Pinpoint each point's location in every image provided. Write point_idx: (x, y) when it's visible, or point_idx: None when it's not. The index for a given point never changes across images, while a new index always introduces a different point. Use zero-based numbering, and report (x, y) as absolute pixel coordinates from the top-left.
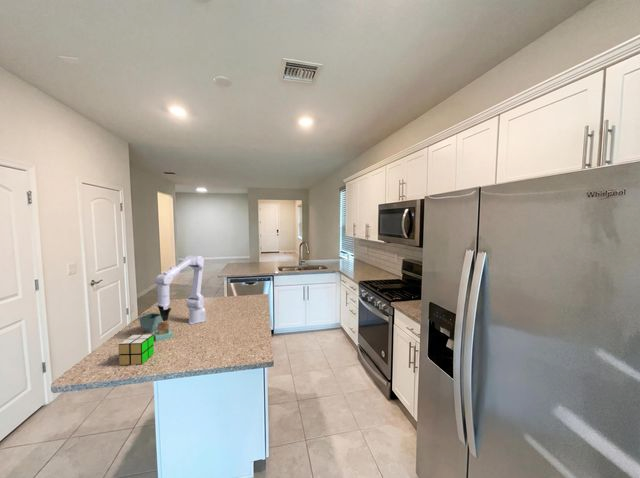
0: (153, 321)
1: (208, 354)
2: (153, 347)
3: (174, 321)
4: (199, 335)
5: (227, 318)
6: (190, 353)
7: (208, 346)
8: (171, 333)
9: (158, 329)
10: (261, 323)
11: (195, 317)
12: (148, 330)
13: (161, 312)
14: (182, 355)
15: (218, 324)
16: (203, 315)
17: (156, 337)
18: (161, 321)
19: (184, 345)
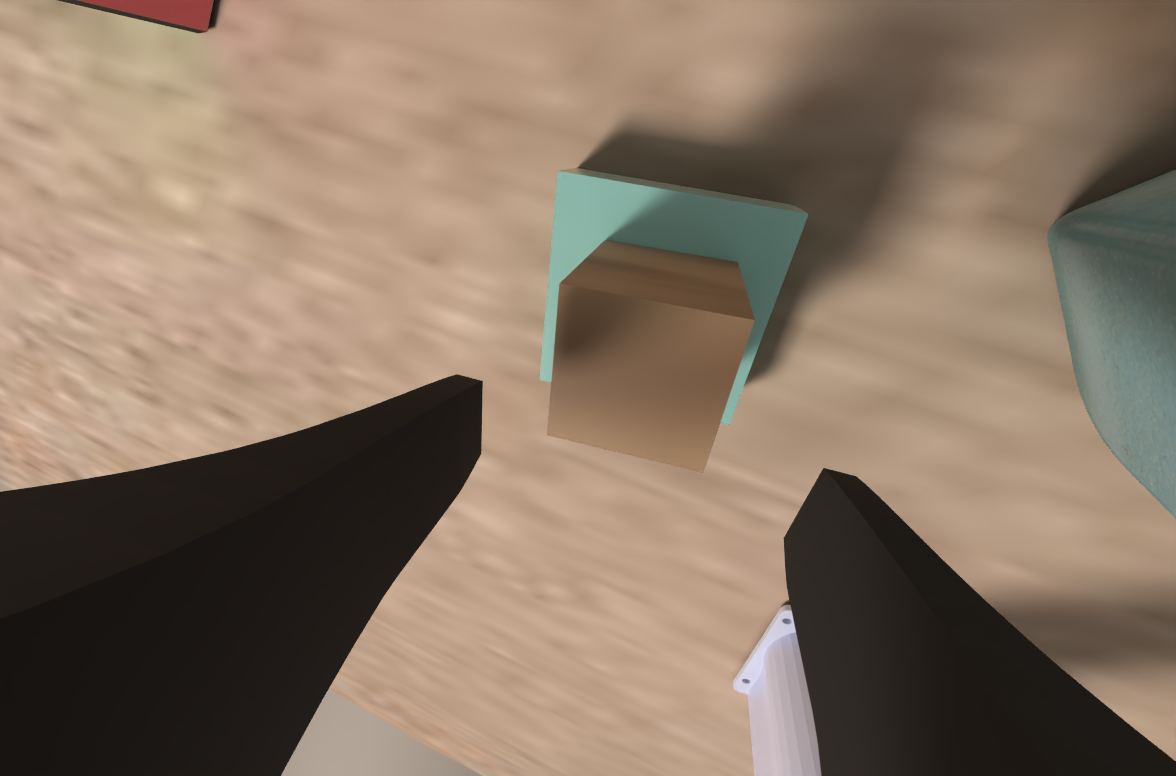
0: (1164, 309)
1: (104, 388)
2: (92, 3)
3: (1123, 589)
4: (450, 509)
5: (651, 746)
6: (140, 318)
7: (221, 446)
8: (541, 369)
9: (706, 271)
10: (423, 732)
11: (781, 704)
12: (1144, 182)
13: (17, 517)
14: (118, 260)
15: (580, 670)
16: (758, 749)
17: (561, 179)
18: (1122, 461)
19: (303, 350)
